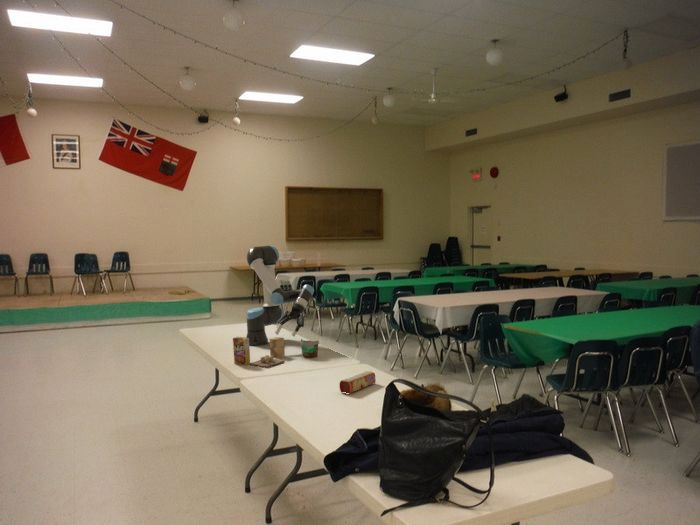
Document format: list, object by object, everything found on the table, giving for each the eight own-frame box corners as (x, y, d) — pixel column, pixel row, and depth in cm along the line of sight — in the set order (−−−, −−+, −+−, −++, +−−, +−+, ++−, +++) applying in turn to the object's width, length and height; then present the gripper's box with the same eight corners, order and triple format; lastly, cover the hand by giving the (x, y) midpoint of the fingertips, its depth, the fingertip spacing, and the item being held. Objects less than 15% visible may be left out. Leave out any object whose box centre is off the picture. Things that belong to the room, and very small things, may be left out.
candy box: (233, 364, 316) (232, 337, 315) (238, 362, 320) (237, 336, 318) (245, 365, 311) (244, 338, 310) (250, 363, 315) (249, 337, 314)
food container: (296, 357, 326) (295, 341, 325) (302, 355, 331) (301, 338, 330) (314, 359, 320) (313, 342, 319) (319, 356, 325) (319, 340, 325)
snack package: (366, 382, 272) (365, 368, 271) (377, 384, 268) (376, 370, 267) (338, 393, 255) (338, 379, 255) (350, 396, 251) (349, 381, 250)
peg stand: (249, 365, 312) (249, 358, 312) (267, 359, 323) (266, 352, 323) (267, 368, 304) (267, 361, 303) (284, 362, 315) (284, 355, 315)
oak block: (270, 356, 330) (269, 338, 329) (277, 354, 335) (276, 336, 334) (277, 358, 326) (277, 339, 326) (284, 355, 331) (283, 337, 330)
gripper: (281, 301, 351) (266, 329, 340) (311, 303, 336) (297, 332, 325) (287, 308, 355) (272, 336, 344) (317, 311, 341) (303, 339, 330)
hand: (284, 334), depth 335 cm, fingers open, 13 cm apart
